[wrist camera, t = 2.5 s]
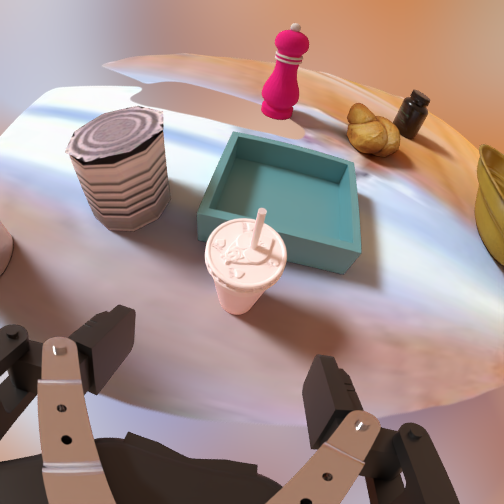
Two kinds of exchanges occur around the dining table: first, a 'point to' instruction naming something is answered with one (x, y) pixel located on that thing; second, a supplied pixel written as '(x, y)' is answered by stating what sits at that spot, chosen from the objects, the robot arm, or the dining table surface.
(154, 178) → the can
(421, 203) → the dining table surface
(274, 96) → the pepper mill
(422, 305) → the dining table surface
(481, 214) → the planter bowl
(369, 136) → the bread roll
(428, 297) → the dining table surface
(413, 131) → the supplement bottle
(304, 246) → the tote
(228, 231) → the smoothie
